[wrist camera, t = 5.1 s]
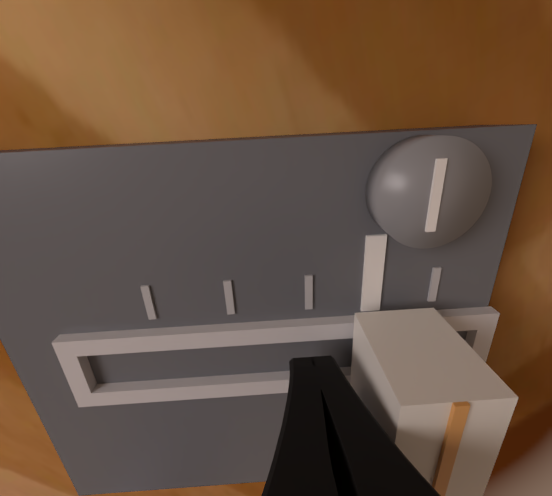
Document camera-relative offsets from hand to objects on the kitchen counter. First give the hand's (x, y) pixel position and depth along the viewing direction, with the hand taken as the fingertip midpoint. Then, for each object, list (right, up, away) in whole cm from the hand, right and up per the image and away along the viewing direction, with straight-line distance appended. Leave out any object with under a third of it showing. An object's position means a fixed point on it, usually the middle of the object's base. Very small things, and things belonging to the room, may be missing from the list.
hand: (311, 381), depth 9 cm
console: (-2, +1, +3) cm, 4 cm away
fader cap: (+3, +1, +1) cm, 3 cm away
